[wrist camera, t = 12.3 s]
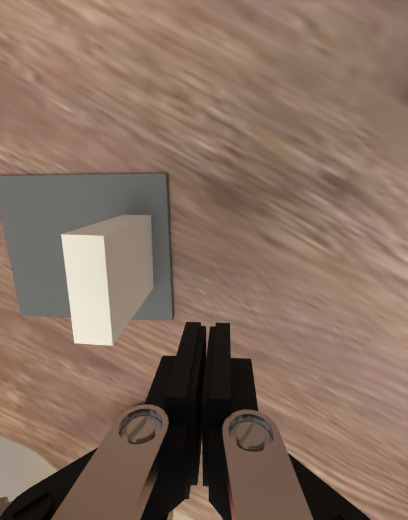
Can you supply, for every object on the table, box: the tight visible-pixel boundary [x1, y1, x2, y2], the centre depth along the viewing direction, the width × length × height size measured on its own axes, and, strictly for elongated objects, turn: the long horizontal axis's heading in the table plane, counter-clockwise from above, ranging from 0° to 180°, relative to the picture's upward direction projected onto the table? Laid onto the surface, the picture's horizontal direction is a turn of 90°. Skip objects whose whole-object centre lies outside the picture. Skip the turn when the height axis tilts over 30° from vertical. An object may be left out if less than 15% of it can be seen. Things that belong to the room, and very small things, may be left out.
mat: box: [0, 174, 174, 321], centre depth 27 cm, size 16×14×1 cm
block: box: [61, 214, 154, 346], centre depth 22 cm, size 3×7×10 cm, turn 179°
